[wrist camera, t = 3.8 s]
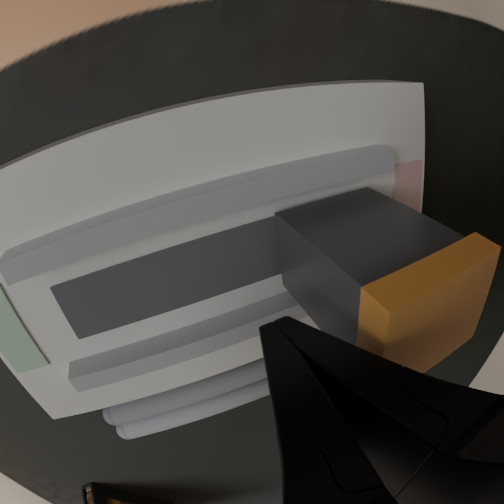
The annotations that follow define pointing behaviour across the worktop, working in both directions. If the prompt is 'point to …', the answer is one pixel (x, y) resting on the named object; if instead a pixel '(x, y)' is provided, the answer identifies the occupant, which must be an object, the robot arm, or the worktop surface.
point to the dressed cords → (189, 401)
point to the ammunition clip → (113, 496)
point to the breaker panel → (181, 232)
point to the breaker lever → (385, 275)
